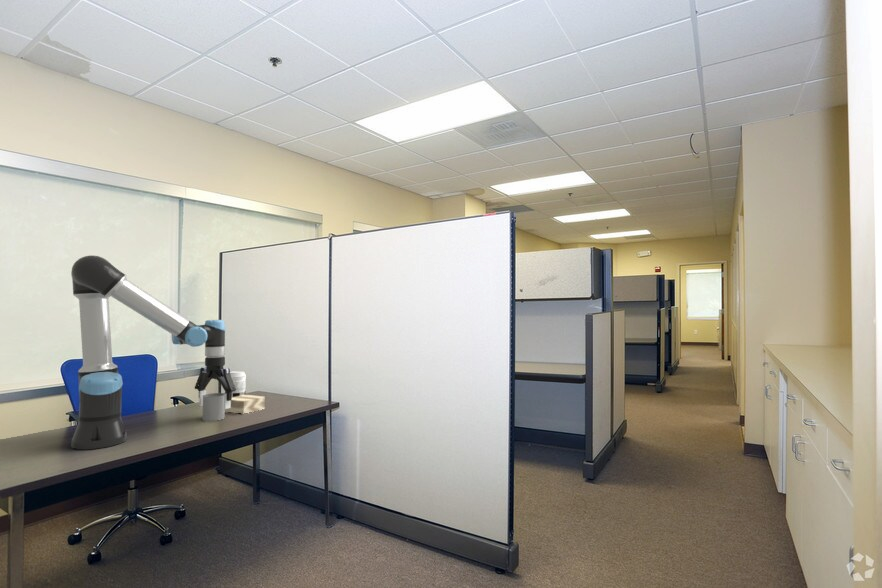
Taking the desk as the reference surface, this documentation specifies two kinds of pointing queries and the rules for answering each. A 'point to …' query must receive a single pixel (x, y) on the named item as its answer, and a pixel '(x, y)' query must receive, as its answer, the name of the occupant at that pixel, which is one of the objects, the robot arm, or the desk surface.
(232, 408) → the birch block
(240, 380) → the supplement can
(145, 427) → the desk surface
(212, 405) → the cup
